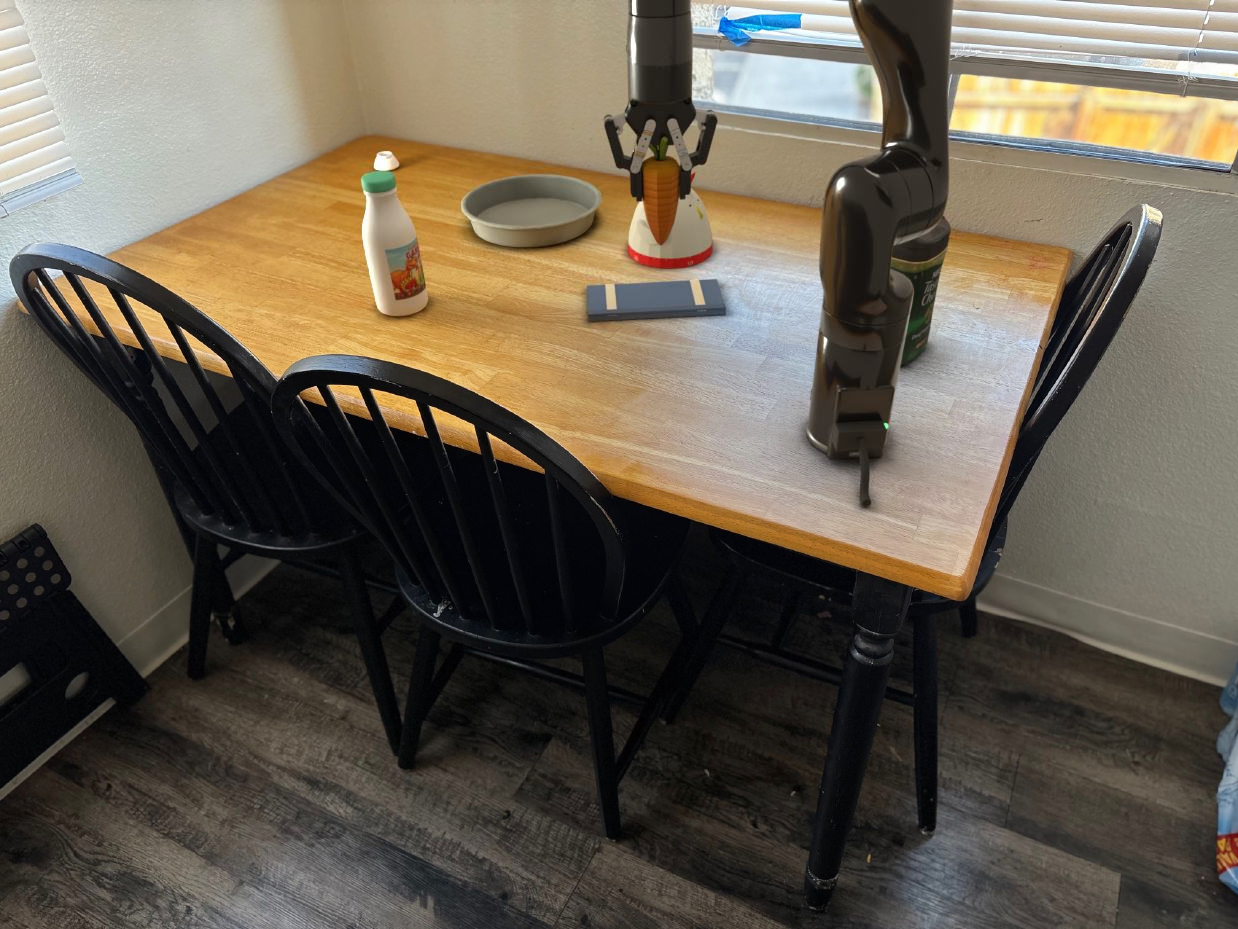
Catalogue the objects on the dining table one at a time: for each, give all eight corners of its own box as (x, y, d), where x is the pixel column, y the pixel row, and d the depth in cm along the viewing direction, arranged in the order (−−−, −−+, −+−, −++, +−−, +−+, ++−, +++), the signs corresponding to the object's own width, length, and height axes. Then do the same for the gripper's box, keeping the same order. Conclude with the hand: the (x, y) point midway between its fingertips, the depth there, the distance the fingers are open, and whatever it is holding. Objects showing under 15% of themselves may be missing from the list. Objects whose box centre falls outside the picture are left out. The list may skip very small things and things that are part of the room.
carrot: (676, 254, 115) (677, 135, 106) (638, 252, 116) (635, 134, 107) (682, 238, 119) (683, 121, 110) (645, 236, 120) (643, 120, 111)
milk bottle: (379, 321, 133) (349, 188, 121) (375, 298, 139) (347, 169, 127) (431, 313, 134) (407, 181, 122) (426, 290, 140) (403, 162, 128)
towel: (725, 314, 131) (726, 307, 130) (588, 321, 131) (588, 314, 130) (716, 283, 139) (717, 276, 138) (587, 290, 139) (586, 282, 138)
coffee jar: (902, 373, 117) (928, 239, 106) (848, 354, 121) (867, 222, 110) (936, 343, 123) (963, 212, 111) (883, 326, 127) (904, 198, 115)
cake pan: (550, 263, 146) (548, 237, 144) (435, 235, 157) (431, 210, 154) (628, 211, 163) (628, 186, 160) (519, 188, 173) (517, 164, 170)
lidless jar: (403, 164, 186) (382, 162, 187) (401, 150, 184) (379, 148, 185) (391, 173, 182) (370, 171, 183) (388, 158, 180) (367, 156, 182)
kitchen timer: (686, 275, 142) (687, 181, 132) (612, 257, 148) (609, 166, 138) (726, 242, 151) (730, 152, 141) (655, 226, 157) (655, 139, 148)
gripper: (598, 65, 100) (604, 213, 111) (726, 59, 100) (721, 207, 111) (596, 49, 106) (603, 190, 117) (717, 43, 106) (713, 184, 117)
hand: (660, 197), depth 114 cm, fingers closed on carrot, 5 cm apart
